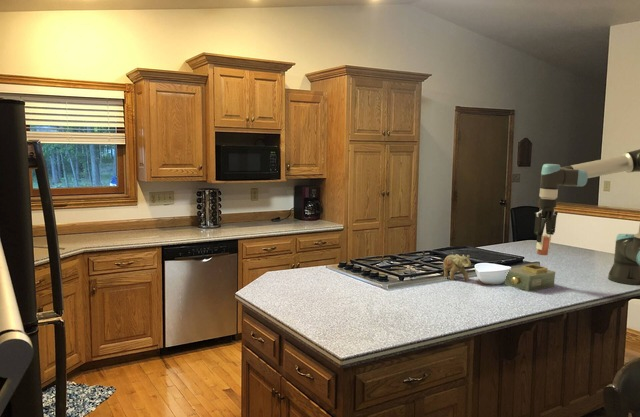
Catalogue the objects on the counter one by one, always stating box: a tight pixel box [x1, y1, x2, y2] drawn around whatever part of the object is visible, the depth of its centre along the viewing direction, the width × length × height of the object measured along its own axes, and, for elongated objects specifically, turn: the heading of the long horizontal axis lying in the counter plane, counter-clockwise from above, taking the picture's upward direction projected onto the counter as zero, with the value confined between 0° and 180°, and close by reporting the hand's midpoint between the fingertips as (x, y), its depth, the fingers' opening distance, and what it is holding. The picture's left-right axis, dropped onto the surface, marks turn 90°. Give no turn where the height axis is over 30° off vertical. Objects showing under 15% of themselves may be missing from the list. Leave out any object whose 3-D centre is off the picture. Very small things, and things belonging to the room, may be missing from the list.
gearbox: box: [504, 263, 556, 293], centre depth 245 cm, size 20×13×8 cm, turn 121°
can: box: [536, 233, 550, 256], centre depth 244 cm, size 5×5×9 cm
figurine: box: [442, 253, 472, 282], centre depth 254 cm, size 10×16×16 cm, turn 14°
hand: (542, 248), depth 244 cm, fingers closed on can, 4 cm apart
